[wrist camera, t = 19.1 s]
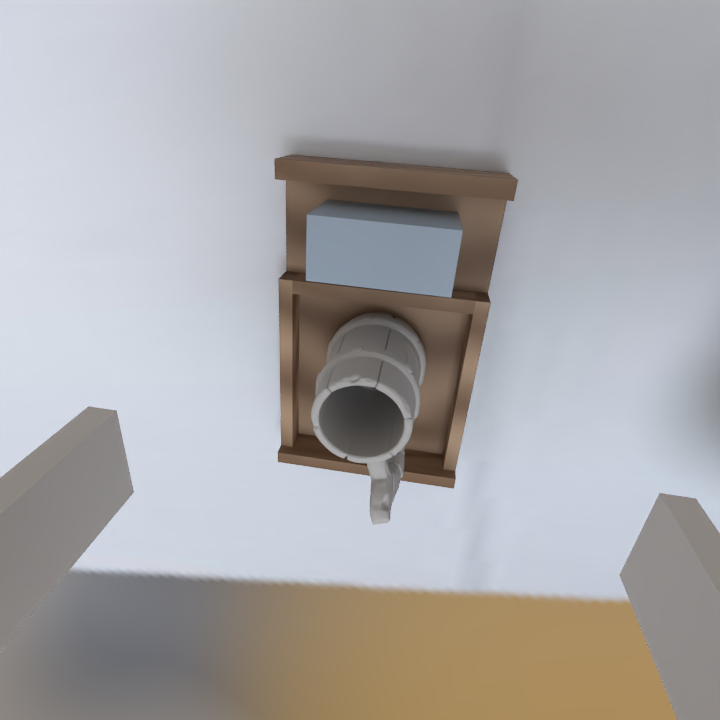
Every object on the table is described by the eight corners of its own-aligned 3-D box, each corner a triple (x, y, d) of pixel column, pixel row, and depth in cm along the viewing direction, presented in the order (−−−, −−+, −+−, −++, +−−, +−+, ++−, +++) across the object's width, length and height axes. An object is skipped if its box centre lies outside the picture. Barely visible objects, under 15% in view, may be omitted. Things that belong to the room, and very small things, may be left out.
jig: (291, 154, 33) (272, 159, 29) (508, 173, 31) (519, 180, 27) (292, 431, 44) (278, 461, 40) (451, 454, 42) (453, 488, 38)
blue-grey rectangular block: (325, 255, 34) (305, 280, 29) (327, 199, 32) (306, 214, 27) (448, 269, 33) (451, 297, 28) (458, 212, 31) (462, 230, 26)
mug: (415, 298, 35) (406, 376, 24) (443, 427, 39) (447, 539, 29) (319, 317, 36) (272, 397, 26) (358, 438, 41) (331, 548, 31)
